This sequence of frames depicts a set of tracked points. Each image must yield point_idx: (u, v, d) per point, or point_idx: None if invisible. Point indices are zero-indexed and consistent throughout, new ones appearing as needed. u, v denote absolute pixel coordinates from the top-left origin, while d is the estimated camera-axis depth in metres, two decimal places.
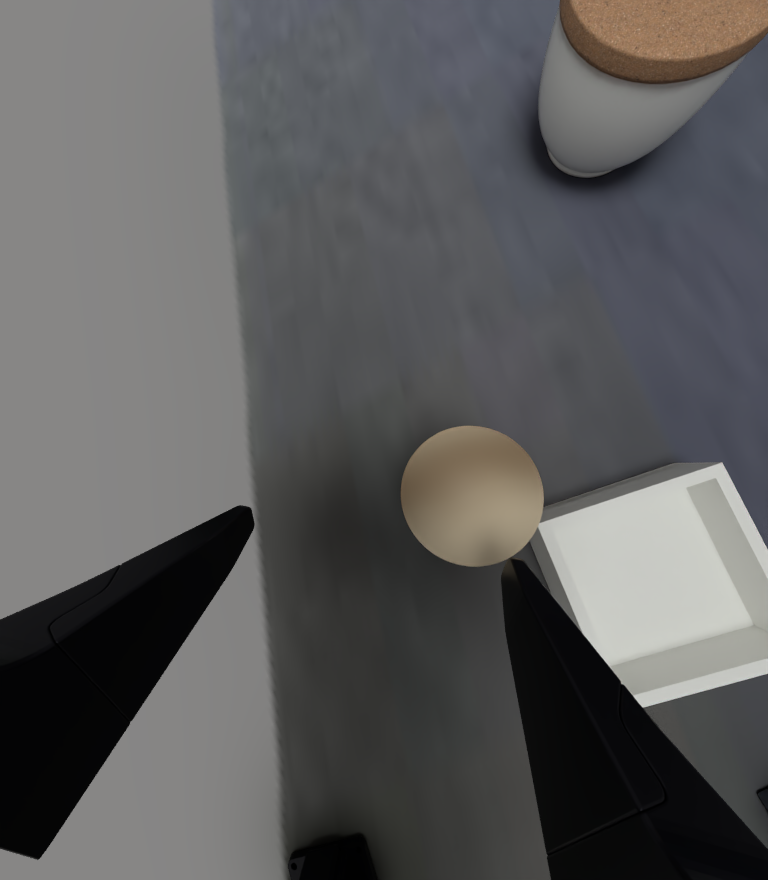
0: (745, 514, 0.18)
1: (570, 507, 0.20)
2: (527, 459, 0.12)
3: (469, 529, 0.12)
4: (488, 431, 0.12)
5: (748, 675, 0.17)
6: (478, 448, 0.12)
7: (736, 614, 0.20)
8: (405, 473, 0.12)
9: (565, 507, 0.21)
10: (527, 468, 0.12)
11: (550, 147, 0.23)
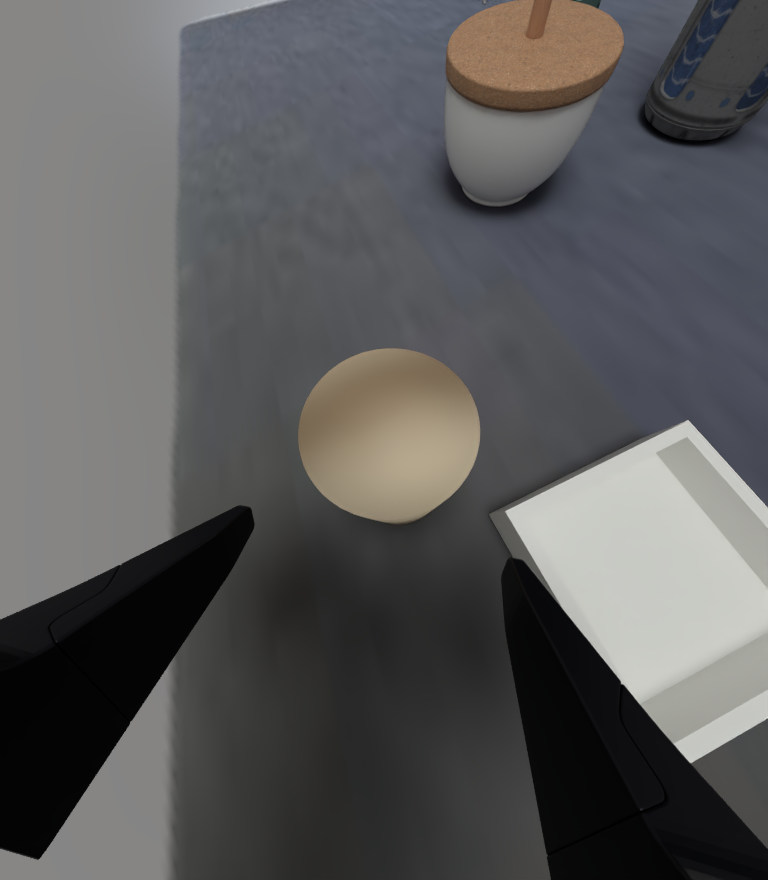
0: (732, 473, 0.16)
1: (541, 491, 0.17)
2: (453, 377, 0.10)
3: (389, 469, 0.09)
4: (404, 352, 0.10)
5: None
6: (393, 372, 0.10)
7: (767, 606, 0.16)
8: (304, 410, 0.10)
9: (536, 493, 0.18)
10: (455, 386, 0.09)
11: (462, 181, 0.27)
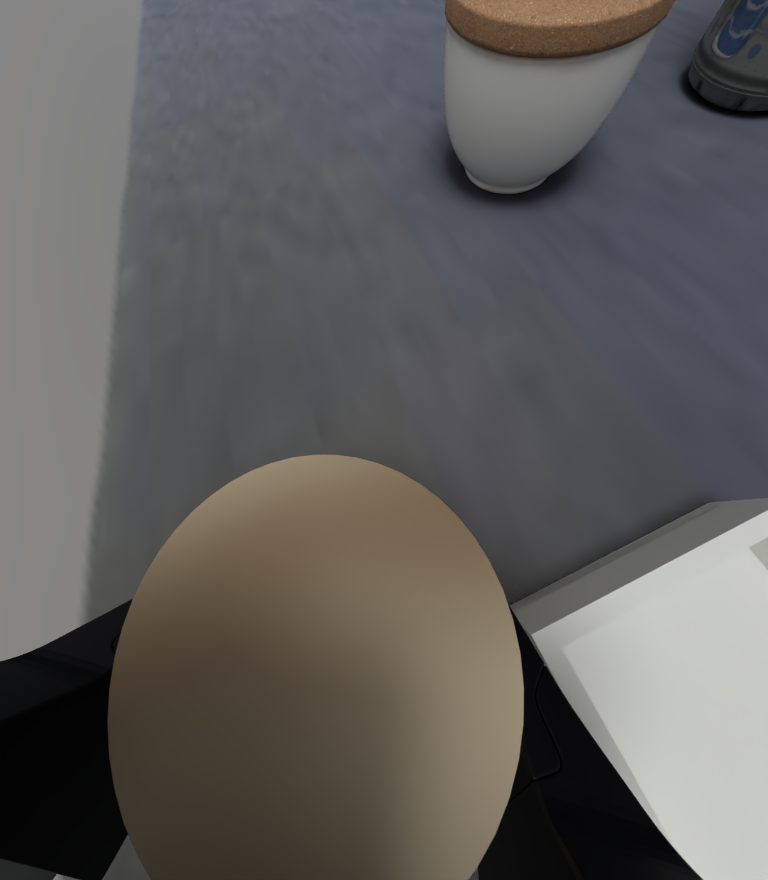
0: None
1: (580, 593, 0.12)
2: (458, 531, 0.04)
3: (304, 790, 0.04)
4: (356, 465, 0.05)
5: None
6: (331, 513, 0.05)
7: None
8: (135, 600, 0.04)
9: (572, 593, 0.13)
10: (462, 556, 0.04)
11: (466, 161, 0.21)
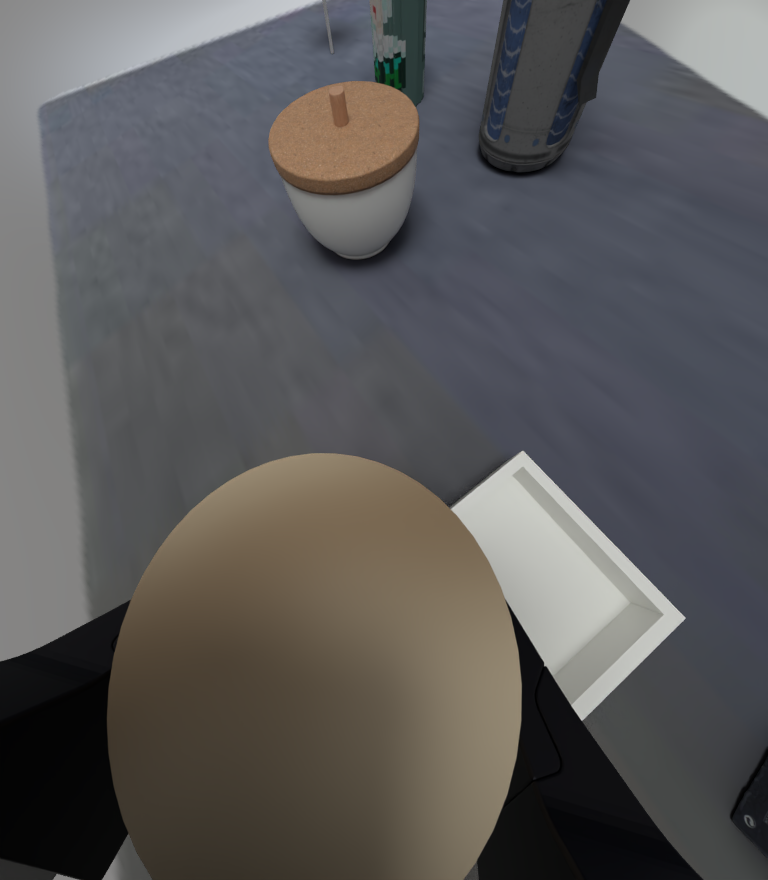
0: (559, 492, 0.18)
1: None
2: (457, 529, 0.04)
3: (302, 787, 0.04)
4: (355, 463, 0.05)
5: (629, 667, 0.15)
6: (329, 511, 0.05)
7: (610, 596, 0.19)
8: (135, 599, 0.04)
9: None
10: (460, 554, 0.04)
11: (322, 244, 0.28)
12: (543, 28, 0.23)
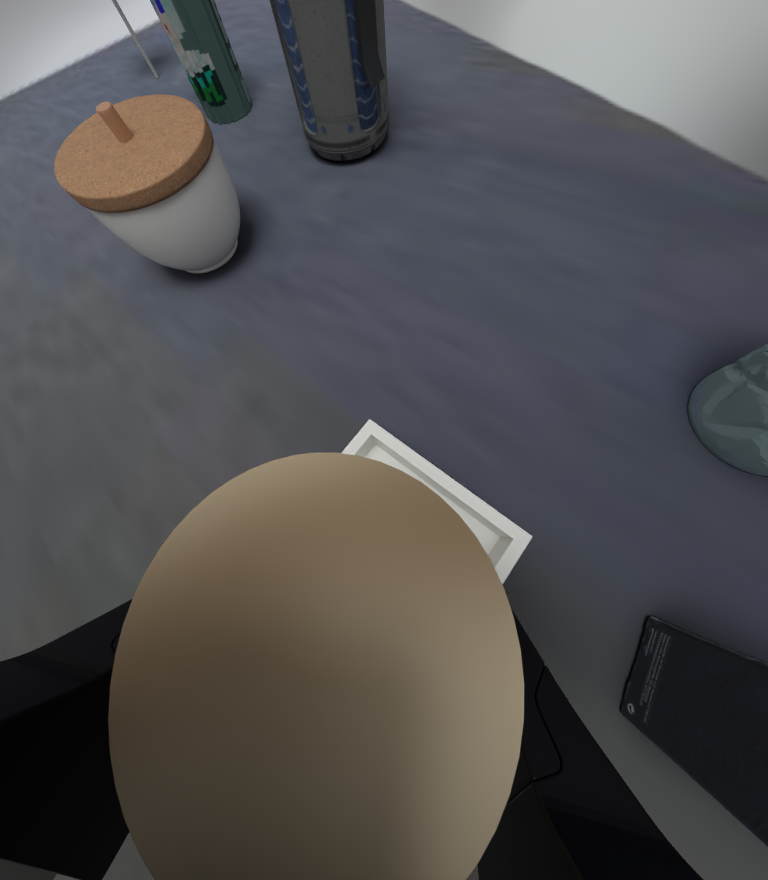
0: (407, 450, 0.19)
1: None
2: (459, 528, 0.04)
3: (304, 787, 0.04)
4: (356, 462, 0.05)
5: None
6: (332, 510, 0.05)
7: (481, 536, 0.19)
8: (136, 598, 0.04)
9: None
10: (463, 554, 0.04)
11: (161, 264, 0.28)
12: (307, 20, 0.23)
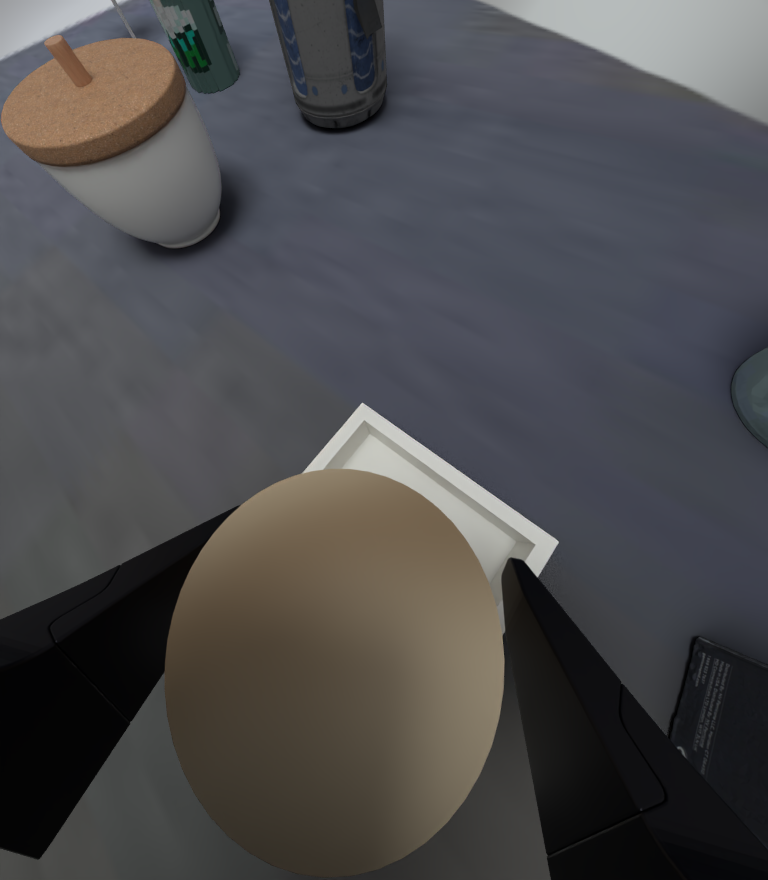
0: (407, 438, 0.16)
1: None
2: (452, 533, 0.05)
3: (327, 742, 0.04)
4: (366, 477, 0.06)
5: None
6: (345, 518, 0.05)
7: (494, 541, 0.16)
8: (183, 592, 0.05)
9: None
10: (456, 554, 0.05)
11: (132, 235, 0.25)
12: None
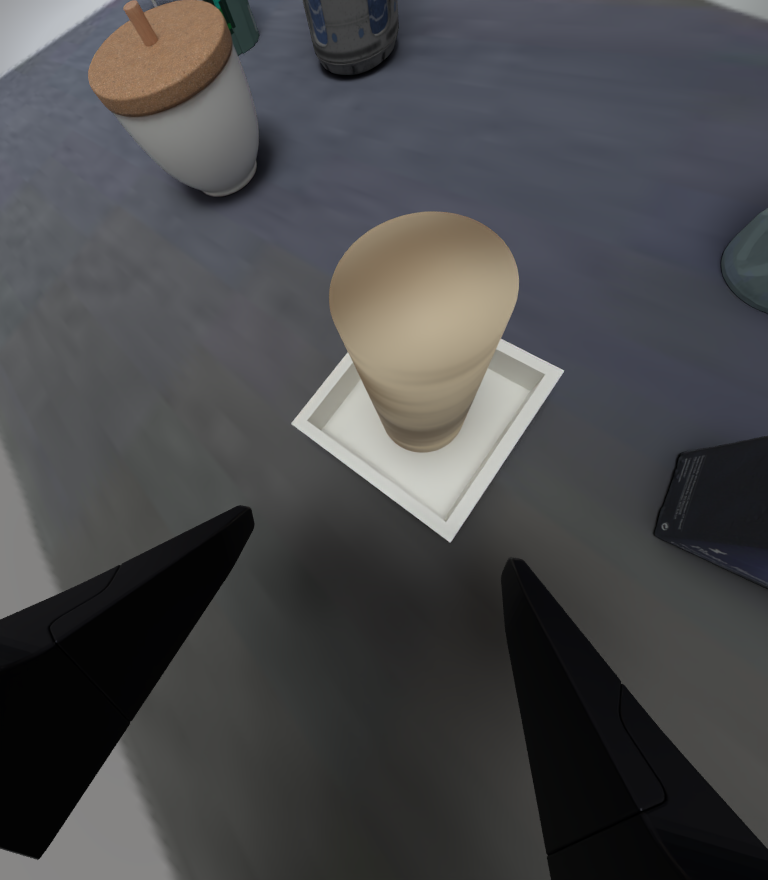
0: None
1: None
2: (486, 232, 0.09)
3: (425, 323, 0.09)
4: (432, 215, 0.10)
5: (524, 424, 0.17)
6: (423, 234, 0.09)
7: (512, 392, 0.20)
8: (333, 279, 0.09)
9: None
10: (489, 240, 0.09)
11: (188, 184, 0.29)
12: None
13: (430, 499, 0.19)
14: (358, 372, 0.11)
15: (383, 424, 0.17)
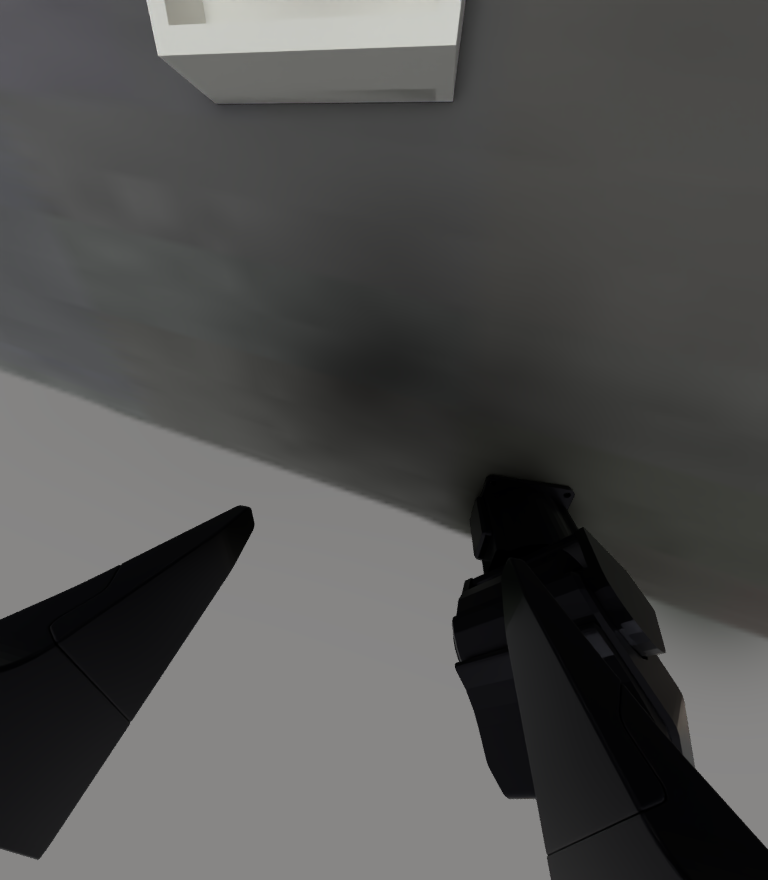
0: None
1: None
2: None
3: None
4: None
5: None
6: None
7: None
8: None
9: None
10: None
11: None
12: None
13: None
14: None
15: None
